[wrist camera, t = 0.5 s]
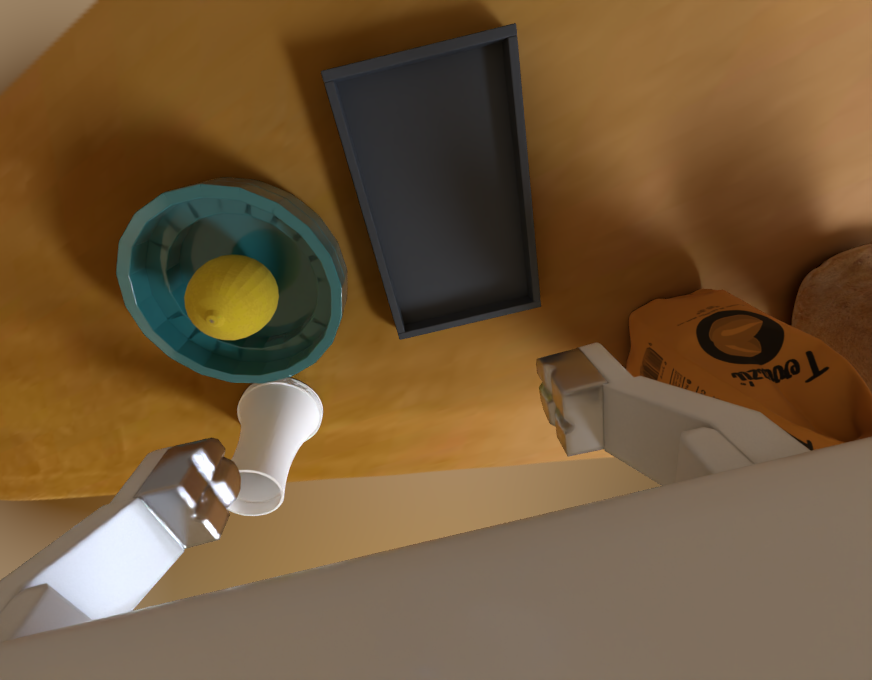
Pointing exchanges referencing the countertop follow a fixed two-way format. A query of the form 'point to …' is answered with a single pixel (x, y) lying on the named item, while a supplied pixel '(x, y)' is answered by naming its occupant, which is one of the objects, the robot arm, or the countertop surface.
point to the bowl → (234, 235)
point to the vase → (271, 440)
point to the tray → (443, 177)
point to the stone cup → (840, 307)
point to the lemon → (231, 297)
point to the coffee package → (751, 365)
